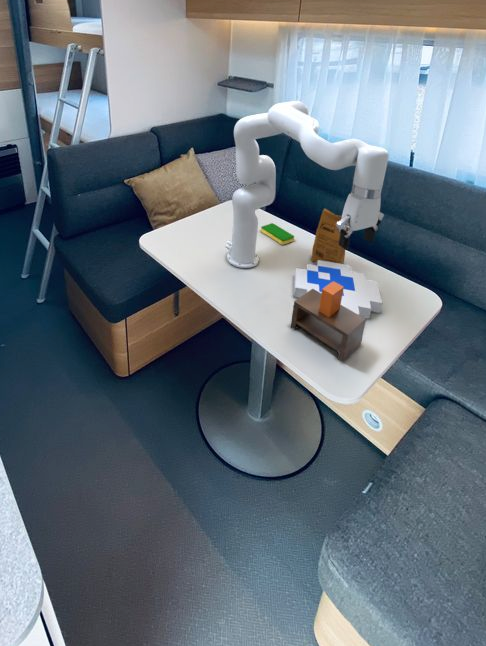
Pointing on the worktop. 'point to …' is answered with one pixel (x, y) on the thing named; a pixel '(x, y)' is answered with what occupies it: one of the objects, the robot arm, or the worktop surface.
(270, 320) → the worktop surface
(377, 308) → the stepped white slab
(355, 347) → the shelf
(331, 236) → the coffee package
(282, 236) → the dish sponge
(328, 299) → the block
